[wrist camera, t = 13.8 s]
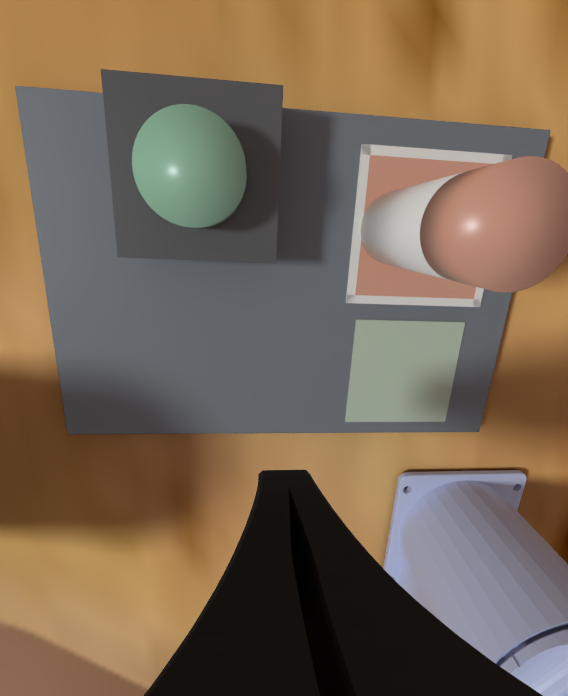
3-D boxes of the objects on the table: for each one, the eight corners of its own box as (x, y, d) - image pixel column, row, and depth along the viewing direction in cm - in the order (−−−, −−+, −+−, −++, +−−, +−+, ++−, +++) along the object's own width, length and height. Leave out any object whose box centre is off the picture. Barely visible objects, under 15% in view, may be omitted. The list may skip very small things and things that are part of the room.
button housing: (272, 259, 17) (276, 263, 14) (136, 253, 16) (117, 257, 14) (278, 107, 15) (283, 85, 13) (124, 94, 14) (101, 69, 12)
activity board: (470, 424, 21) (480, 433, 20) (74, 426, 19) (66, 435, 18) (536, 134, 17) (552, 129, 16) (27, 93, 15) (13, 84, 14)
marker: (422, 266, 17) (558, 295, 10) (356, 262, 17) (445, 289, 9) (434, 193, 16) (597, 162, 9) (365, 188, 16) (471, 150, 8)
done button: (246, 230, 14) (245, 230, 12) (147, 225, 13) (136, 224, 12) (247, 121, 13) (247, 108, 11) (140, 112, 12) (127, 99, 11)
